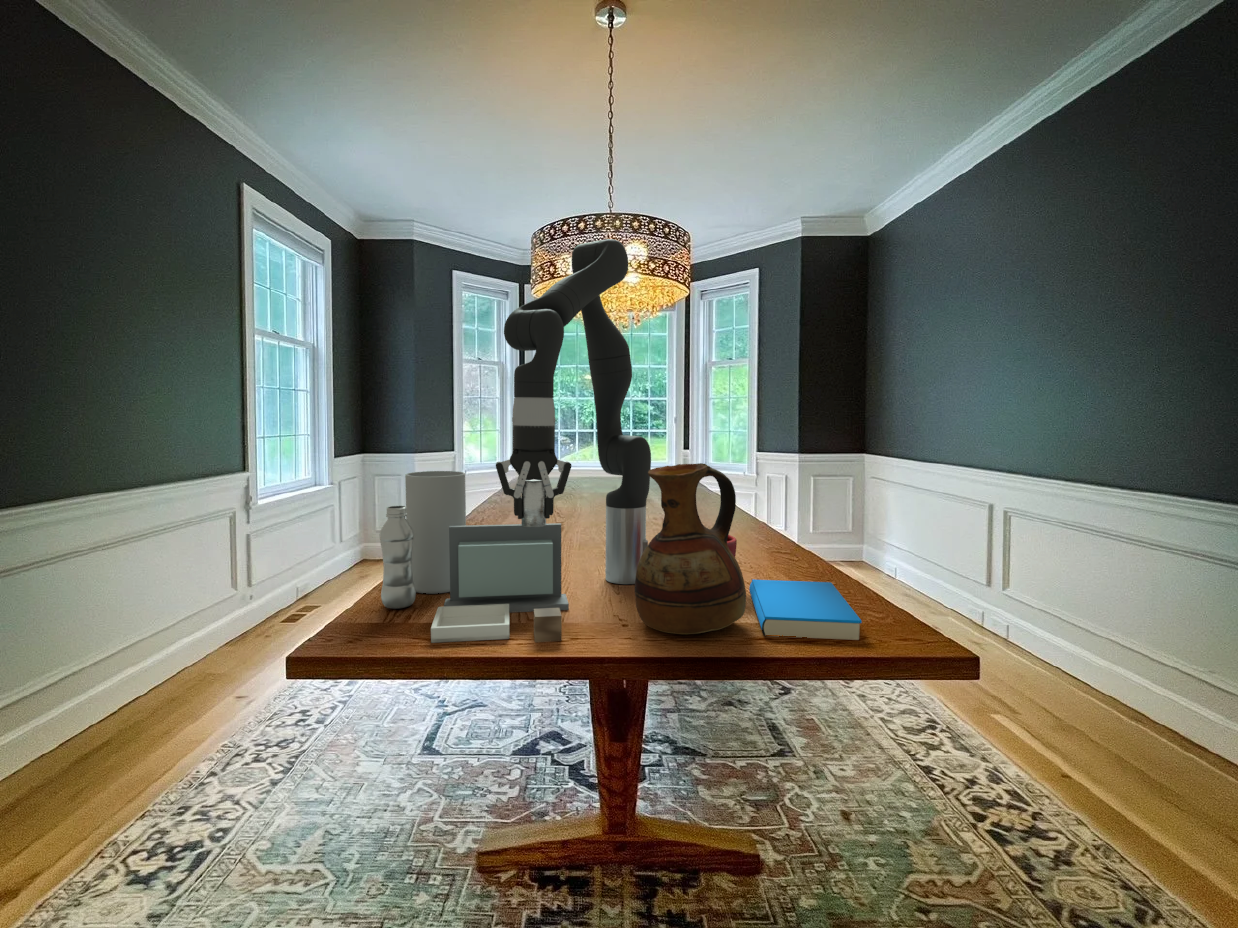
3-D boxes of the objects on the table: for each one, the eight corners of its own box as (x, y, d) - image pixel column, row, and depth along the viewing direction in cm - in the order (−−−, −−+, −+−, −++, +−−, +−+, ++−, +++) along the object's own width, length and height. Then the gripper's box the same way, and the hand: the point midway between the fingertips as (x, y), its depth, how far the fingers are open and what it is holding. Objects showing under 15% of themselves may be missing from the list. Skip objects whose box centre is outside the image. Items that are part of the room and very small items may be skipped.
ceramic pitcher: (617, 616, 125) (619, 459, 122) (709, 604, 133) (712, 457, 130) (665, 652, 107) (667, 469, 104) (767, 635, 115) (772, 465, 112)
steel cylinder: (545, 522, 121) (545, 479, 121) (546, 526, 117) (547, 482, 116) (521, 523, 121) (521, 479, 120) (521, 527, 116) (522, 482, 116)
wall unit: (565, 599, 136) (565, 522, 134) (568, 609, 129) (568, 529, 127) (446, 604, 132) (444, 525, 130) (442, 615, 125) (441, 532, 123)
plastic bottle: (423, 604, 132) (421, 505, 130) (401, 614, 125) (399, 510, 124) (396, 600, 134) (394, 503, 132) (373, 610, 127) (371, 508, 126)
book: (830, 581, 138) (863, 618, 113) (830, 602, 138) (862, 643, 113) (748, 579, 139) (762, 614, 115) (747, 598, 140) (761, 638, 115)
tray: (509, 616, 124) (509, 603, 124) (509, 638, 113) (509, 624, 112) (438, 619, 122) (438, 606, 122) (431, 642, 110) (430, 628, 110)
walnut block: (559, 632, 116) (559, 607, 116) (561, 641, 112) (561, 615, 111) (533, 633, 116) (533, 608, 115) (534, 642, 111) (534, 616, 111)
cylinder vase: (474, 580, 150) (472, 471, 148) (455, 595, 138) (453, 477, 135) (421, 578, 151) (419, 470, 149) (397, 593, 139) (395, 476, 137)
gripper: (571, 423, 122) (570, 514, 124) (493, 422, 120) (493, 515, 121) (575, 424, 115) (575, 521, 116) (492, 423, 112) (493, 522, 114)
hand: (533, 517), depth 119 cm, fingers closed on steel cylinder, 4 cm apart
